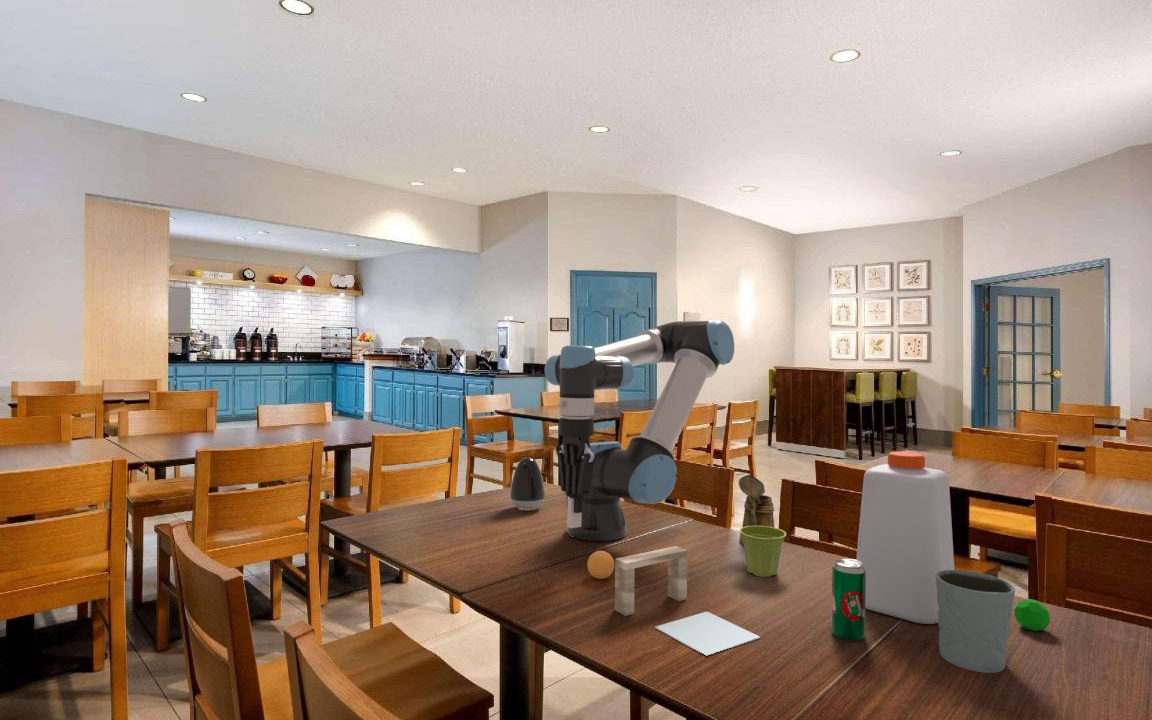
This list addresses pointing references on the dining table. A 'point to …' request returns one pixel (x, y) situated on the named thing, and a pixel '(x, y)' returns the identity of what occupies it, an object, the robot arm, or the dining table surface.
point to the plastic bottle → (905, 537)
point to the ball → (600, 564)
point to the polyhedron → (1032, 615)
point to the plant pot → (762, 549)
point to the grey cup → (974, 619)
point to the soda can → (848, 599)
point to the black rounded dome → (527, 485)
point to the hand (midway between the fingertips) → (574, 526)
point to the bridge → (629, 563)
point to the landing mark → (707, 633)
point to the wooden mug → (756, 504)
